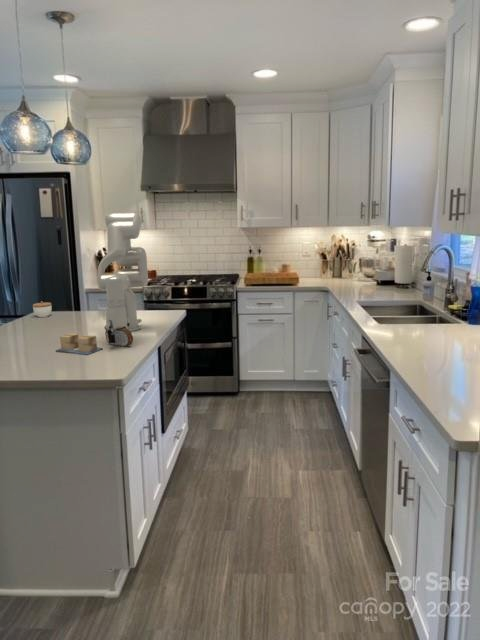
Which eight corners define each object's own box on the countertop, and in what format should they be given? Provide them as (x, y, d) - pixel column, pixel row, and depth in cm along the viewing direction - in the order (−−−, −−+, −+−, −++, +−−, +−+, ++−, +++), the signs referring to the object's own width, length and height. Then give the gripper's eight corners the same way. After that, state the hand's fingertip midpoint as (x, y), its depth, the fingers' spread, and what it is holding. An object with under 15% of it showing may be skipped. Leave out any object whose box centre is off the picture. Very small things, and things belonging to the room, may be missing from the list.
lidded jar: (34, 315, 306) (33, 300, 304) (53, 314, 309) (51, 299, 307) (33, 318, 296) (31, 303, 294) (52, 317, 299) (50, 301, 297)
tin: (134, 346, 226) (132, 328, 224) (129, 348, 223) (127, 330, 222) (109, 343, 234) (108, 325, 232) (105, 344, 231) (103, 326, 229)
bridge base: (71, 346, 230) (70, 332, 228) (102, 349, 222) (101, 334, 221) (55, 351, 221) (54, 337, 219) (87, 355, 214) (86, 340, 212)
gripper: (120, 300, 234) (123, 335, 237) (96, 306, 218) (100, 344, 222) (134, 300, 231) (136, 336, 234) (110, 307, 215) (113, 345, 219)
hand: (118, 340), depth 228 cm, fingers open, 9 cm apart
